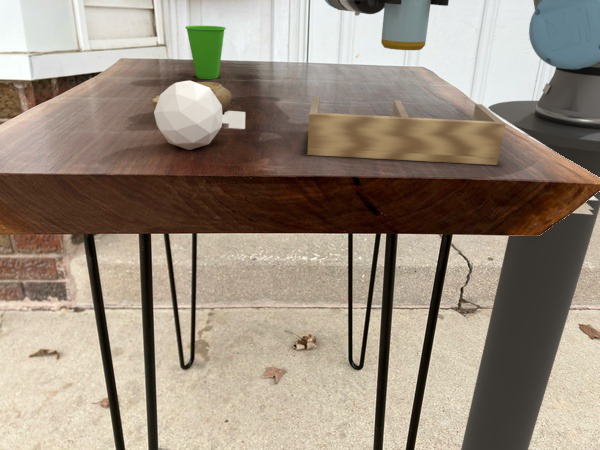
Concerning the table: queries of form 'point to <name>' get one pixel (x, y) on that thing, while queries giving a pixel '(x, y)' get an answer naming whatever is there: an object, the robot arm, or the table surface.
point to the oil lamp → (217, 89)
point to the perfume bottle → (193, 115)
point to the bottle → (405, 25)
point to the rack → (406, 136)
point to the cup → (206, 49)
